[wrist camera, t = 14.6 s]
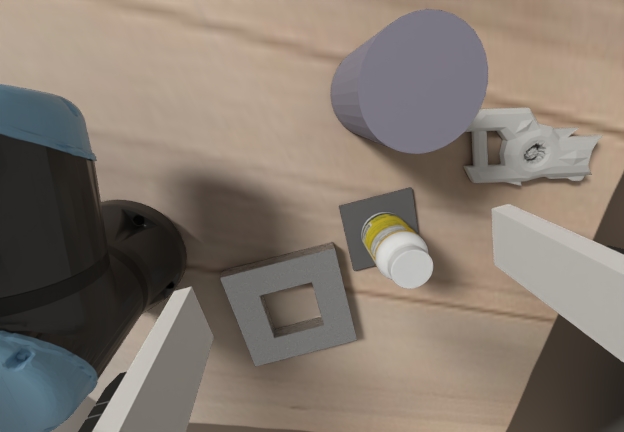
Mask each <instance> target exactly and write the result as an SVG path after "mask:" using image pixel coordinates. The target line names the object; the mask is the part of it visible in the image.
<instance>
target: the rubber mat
mask: <svg viewBox="0 0 624 432" xmlns="http://www.w3.org/2000/svg"><path fill="white" fill-rule="evenodd" d="M339 209H340V213H341V218H342V222H343V226H344V231H345V235H346V240H347V244H348V249H349V253H350V257H351V262H352V266H353V270H354V271H355V270H359V269H363V268H367V267H371V266H375V265H376V264H375V263H374V261H373V259H372V257H371V256H370V254H369V252H368V251H367V249H366V247H365V246H364V244H363V241H362V237H361V233H362V228H363V226H364V224H365V222H366V221H367V220H368V219H369V218H370V217H371V216H373V215H375V214H377V213H381V212H390V213H393V214H395V215H397V216H398V217H400V218H401V219H402V220H403V221H404V222H405V223H406V224H407V225H408V226H409V227H410V228H411V229H413V230H414V231H415V232H416V233H417V234H418V229H417V221H416V214H415V207H414V199H413V192H412V188H406V189H402V190H398V191H394V192H391V193H387V194H383V195H379V196H375V197H371V198H368V199H364V200H360V201H356V202H352V203H348V204H344V205H341V206H339Z"/></svg>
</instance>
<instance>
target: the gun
mask: <svg viewBox="0 0 624 432" xmlns="http://www.w3.org/2000/svg"><path fill="white" fill-rule="evenodd" d="M577 129H578V128H553V127H550V126H546V125H543V124H539V123H538V122H537V120H536V118H535V117H534V115H533V113H532V112H531V110H530V108H497V109H480V110H479V112H478V114H477V115H476V117H475V119H474V121H473V122H472V123H471V124H470V126H469V127H468V128H467V129H466V131H465V132H471V131H472V154H473V166H463V167H464V169H465V171H466V173H467V175H468V177H469V179H470V181H471V182H473V183H492V182H508V183H512V184H516V185H520V186H521V182H520V181H529V180H532V179H535V178H539V177H547V178H548V179H556V178H567V179H569V180H571V181H581V180H582V179H583V178H584V177H585V175H592V174H591V172H590V170H589V167H588V164H589V160H590V156H591V153H592V149H593V148H594V146H595V145H596V143H597V142H598V140H599V139H600V138H601V137H602V136H600V135H582V136H570V135H571V134H572V133H573V132H575V131H576V130H577ZM487 131H497V133H498V134H499V135H500V137H501V138H502V139H503V140H502V144H501V148H500V151H499V156H500V163H501V164H498V165H488V152H487ZM524 158H526V159H527V160H526V159H524Z"/></svg>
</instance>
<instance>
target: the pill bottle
mask: <svg viewBox="0 0 624 432" xmlns="http://www.w3.org/2000/svg"><path fill="white" fill-rule="evenodd" d="M361 237H362V241H363V244H364V246H365V247H366V249H367V251H368V252H369V254H370V256H371V257H372V259H373V261H374V263H375V264H376V266H377V268H378V269H379V271H380V272H381V273H382V274H383V275H384V276H385V277H387V278H389V279H391V280H393V281H394V282H395V283H396V284H397V285H398V286H400V287H402V288H407V289H411V288H416V287H419V286H421V285H423V284H424V283H425V282H427V280H428V279H429V278H430V276H431V274H432V272H433V261H432V259H431V257H430V256H429V255H428V248H427V245H426V243H425V242H424V240H423V239H422V238H421V237H420V236H419V235H418V234H417V233H416V232H415V231H414V230H413V229H411V228H410V227H409V226H408V225H407V224H406V223H405V222H404V221H403V220H402V219H401V218H400V217H398V216H397V215H395V214H393V213H390V212H381V213H377V214H375V215H373V216H371V217H370V218H369V219H368V220H367V221H366V222H365V224H364V226H363V228H362V233H361Z"/></svg>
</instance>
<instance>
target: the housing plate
mask: <svg viewBox="0 0 624 432" xmlns="http://www.w3.org/2000/svg"><path fill="white" fill-rule="evenodd" d="M220 279H221V282H222V284H223V287H224V289H225V292H226V294H227V297H228V299H229V302H230V304H231V307H232V309H233V312H234V314H235V317H236V319H237V322H238V324H239V327H240V329H241V332H242V335H243V337H244V340H245V342H246V345H247V347H248V350H249V352H250V355H251V357H252V360H253V362H254V365H255V367H256V366H260V365H263V364H267V363H271V362H275V361H279V360H283V359H287V358H290V357H294V356H298V355H302V354H306V353H310V352H314V351H317V350H321V349H325V348H329V347H333V346H337V345H340V344H344V343H348V342H352V341H356V340H357V338H356V334H355V330H354V326H353V322H352V317H351V313H350V309H349V305H348V301H347V297H346V293H345V289H344V285H343V280H342V276H341V272H340V268H339V264H338V260H337V256H336V252H335V248H334V245H333V242H331V243H327V244H324V245H320V246H316V247H312V248H308V249H304V250H301V251H297V252H293V253H289V254H285V255H281V256H277V257H274V258H270V259H266V260H262V261H258V262H254V263H251V264H247V265H243V266H239V267H235V268H231V269H227V270H224V271H222V274H221V277H220ZM311 282H312V284H313V288H314V291H315V295H316V298H317V302H318V305H319V309H320V312H321V316H322V317H320V318H316V319H312V320H308V321H304V322H300V323H297V324H293V325H289V326H285V327H281V328H277V329H274V326H273V323H272V320H271V317H270V314H269V312H268V309H267V306H266V303H265V300H264V297H263V295H264V294H268V293H272V292H276V291H280V290H284V289H287V288H291V287H295V286H299V285H303V284H307V283H311Z"/></svg>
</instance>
